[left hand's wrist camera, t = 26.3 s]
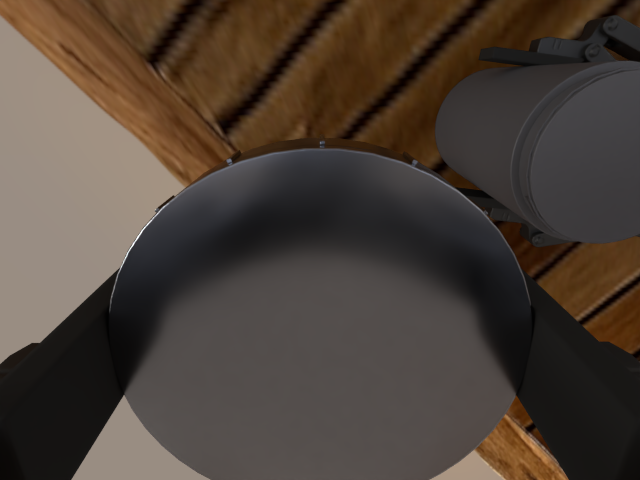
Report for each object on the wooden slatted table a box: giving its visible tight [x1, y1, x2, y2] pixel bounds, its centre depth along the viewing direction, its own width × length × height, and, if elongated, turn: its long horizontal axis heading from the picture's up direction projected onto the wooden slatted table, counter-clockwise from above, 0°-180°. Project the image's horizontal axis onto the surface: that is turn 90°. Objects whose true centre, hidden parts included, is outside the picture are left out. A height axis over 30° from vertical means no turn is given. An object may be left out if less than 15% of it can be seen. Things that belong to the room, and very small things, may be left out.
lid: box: [108, 134, 533, 480], centre depth 12 cm, size 11×11×2 cm
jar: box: [435, 61, 640, 243], centre depth 30 cm, size 10×10×18 cm
